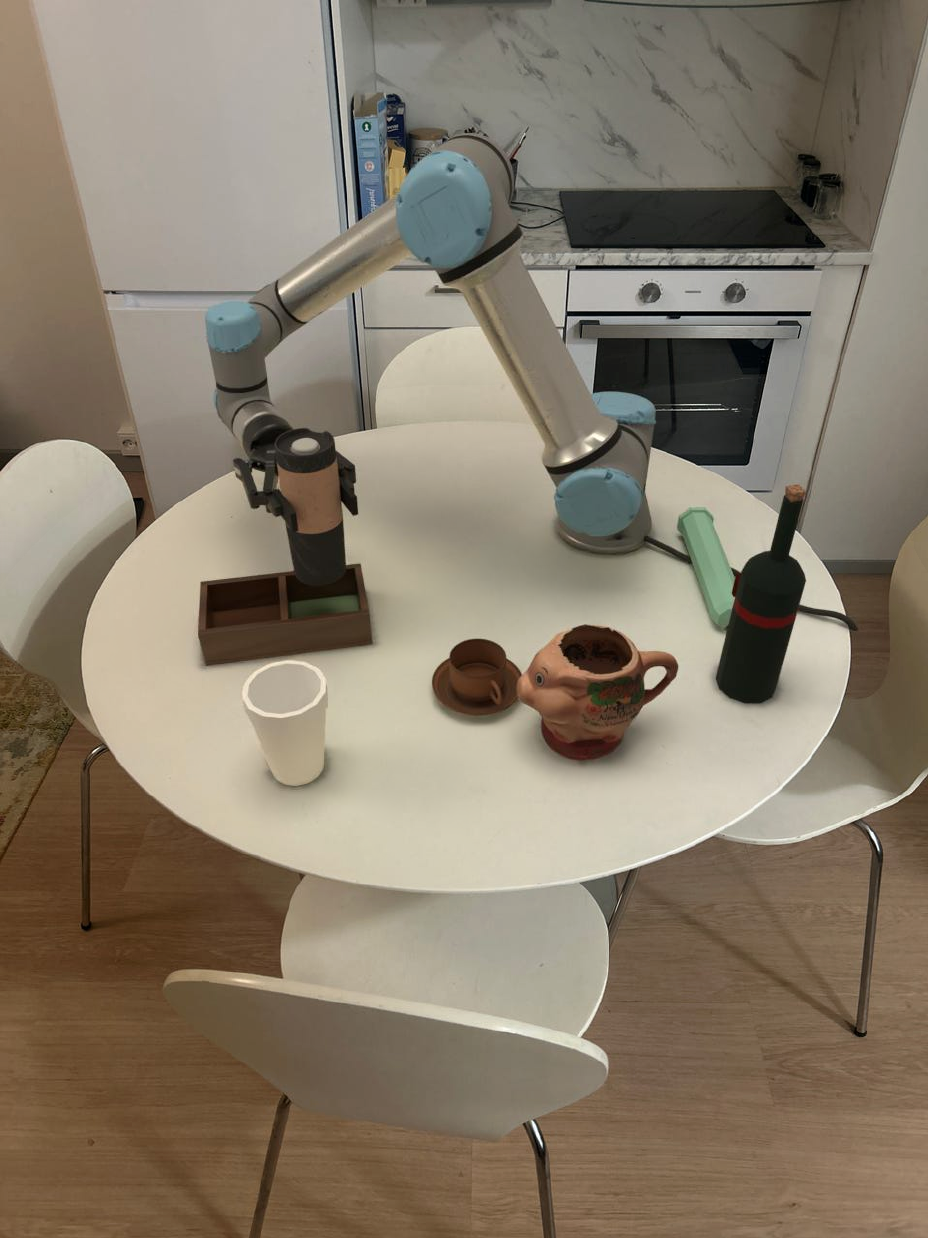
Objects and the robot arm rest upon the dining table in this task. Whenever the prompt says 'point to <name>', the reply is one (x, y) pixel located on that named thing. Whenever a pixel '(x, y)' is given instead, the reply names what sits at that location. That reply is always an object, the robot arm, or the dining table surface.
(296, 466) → the travel mug
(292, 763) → the foam cup
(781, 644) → the wine bottle
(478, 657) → the cup and saucer
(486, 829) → the dining table surface
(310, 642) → the divided box
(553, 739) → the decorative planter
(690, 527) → the container
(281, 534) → the dining table surface
